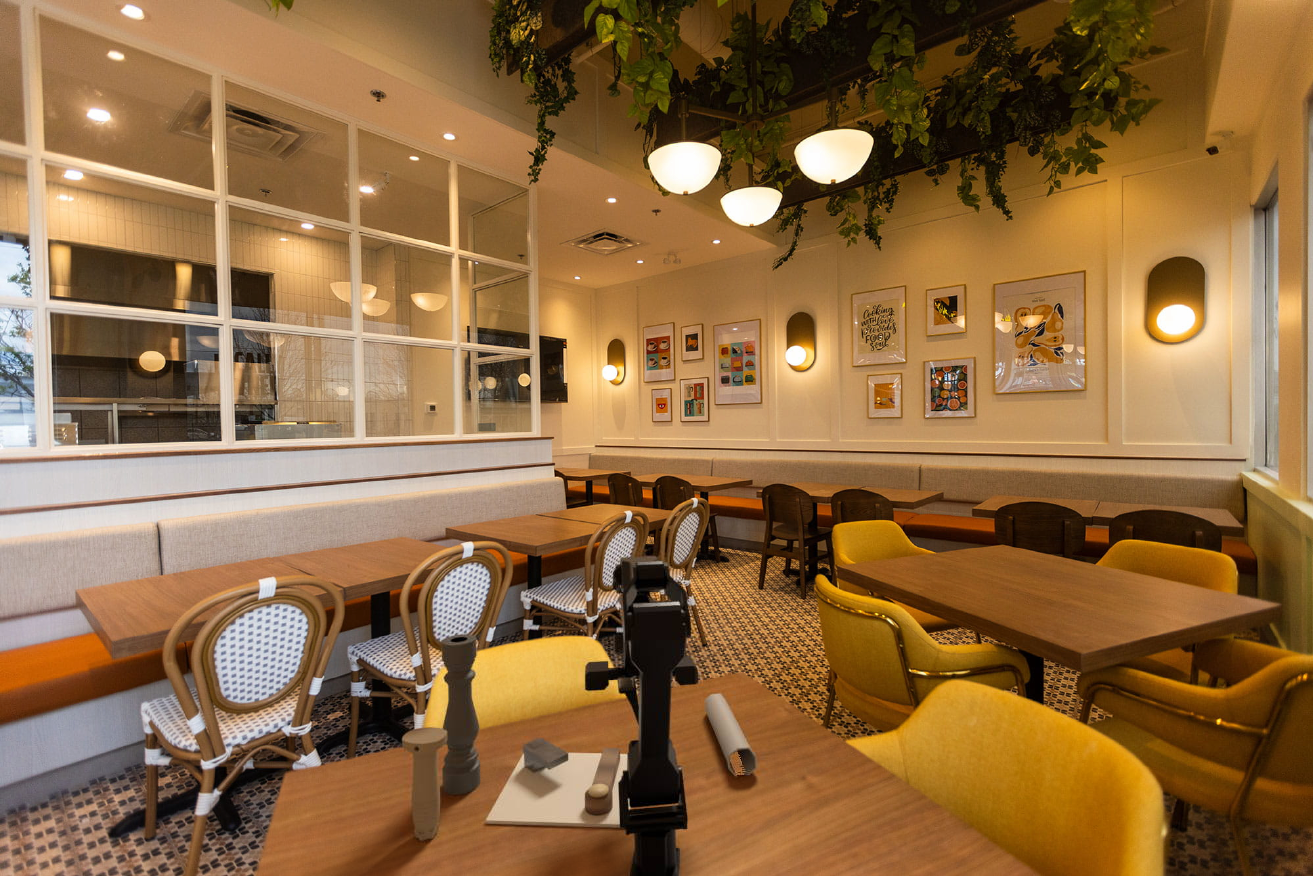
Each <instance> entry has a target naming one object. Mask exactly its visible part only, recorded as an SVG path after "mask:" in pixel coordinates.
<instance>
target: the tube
mask: <svg viewBox="0 0 1313 876" xmlns="http://www.w3.org/2000/svg"><path fill="white" fill-rule="evenodd" d="M704 710H705V712H706V715H707V717H708V719H709V722H710V725H711V727H712V729H713V732H714V733H715V736H716V739H717V741H718V743H719V746H720V748H721V750H722V753H723V756H724V759H725V760H726V763H727V769H728V770H729V771H730V772H731V774H732V775H733V776H734V777H736V776H735V775H736V774H735V771H734V769H733V767H732V764H731V762H730V756H731V755H732V754H734V753H735V752H736V751H737V750H738V751H737V752H738V754H739V755H740V756H739V757H741V758H740V759H741V761H742V765H743V766H740V767H744V768H742V769H745V770H742V771H746V772H742V773H744V775H748V776H750V775H752V773H753V772H755V771H756V770H757V769H758V765H757V764H758V763H757V760H758V759H757V755H756V753H755V752H754V751H753V750H752V748H751V746H750V744H749V742H748V740H747V739H746V736H745V735H744V732H743V731H742V728H741V726H740V724H739V723H738V721H737V719H736V717H735V715H734V713H733V711H732V709H731V708H730V706H729V704H728V702H727V699H726V698H725V697H724V696H723V694H722V693H711V694H710V695H709V696H707V698H705V699H704ZM738 773H741V772H738Z"/></svg>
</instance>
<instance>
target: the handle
mask: <svg viewBox="0 0 1313 876" xmlns="http://www.w3.org/2000/svg"><path fill="white" fill-rule="evenodd" d="M401 741H402V742H401V745H402V749H404V750H406V752H409V753H411V754H412V757H413V758H412V759H413V760H412V761H413V763H412V785H411V786H412V789H411V811H412V813H411V814H412V815H411V816H412V821H413V822H412V823H413V827H414V828H413V832H414V836H415V838H416V839H417V838H418V840H419V841H420V842H424V841H426V840H430V839H434V837H435V836H436V835H437V833H438V832H439V826H440V823H439V819H440V814H441V813H440V811H441V808H440V807H441V790H440V789H441V788H440V779H439V777H440V776H439V766H438V765H439V764H438V750H440V749H441V748H442V747H444V746H445V745H446V742H447V731H446V730H444V729H443V728H441V727H433V726H432V727H430V726H429V727H427V726H425V727H420V728H414V729H411V730H409V731H408V732H405V734H403V736H402V738H401Z"/></svg>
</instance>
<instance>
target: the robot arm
mask: <svg viewBox="0 0 1313 876" xmlns="http://www.w3.org/2000/svg"><path fill="white" fill-rule="evenodd" d="M612 590H615V594H619V603H620V608H621V621H622V622H621V623H622V634H619V635H613V649H614V650H613V651H614V655H622V664H623V667H609V660H601V661H599V660H598V661H588V662H587V664H586V665H585V669H584V690H585V691H587V692H594V691H595V692H596V691H597V692H598V691H605V690H606V689H607V688H608V687H609V686H610V681H617V691H618V693H619V694H621V695H625V697H626V698H627V701H628V702H629V704H630V706H631V709H632V712H633V715H634V717H635V720H636V723H637V725H638V739H634V740H630V742H629V744H628V746H627V748H628V752H627V753H626V754H627V770H623V776H621V780H620V781H619V782H618V792H619V821H620V827H621V828H620V829H623V830H624V831H625V836H630V835H634V837H633V838H634V842H633V843H634V847H633V848H634V849H633V854H632V862H631V867H630V873H629V876H679V875H680V862H681V861H680V858H681V857H680V856H681V849H680V847H677V841H676V840H677V835H676V834H677V832H676V831H677V830H678V831H679V830H683V831H684V830H688V820H689V818H688V810H687V801H686V793H685V784H684V783H685V782H684V775H683V769H682V766H681V765H679V764H678V759H677V754H676V749H675V748H674V743H673V741H672V739H671V737H670V735H671V734H670V733H671V731H670V730H671V710H672V709H671V707H672V704H671V703H672V684H673V683H672V681H673V680H672V678H673V677H674V681H675V683H677V684H678V685H679V686H691V685H692V686H693V685H694V686H695V685H697V684H698V683H699V672H698V671H699V670H698V666H697V664H696V662H695V659H694V658H692V657H691V656H689V655H688V656H686V651H687V639H691V635H692V623H691V622H692V621H691V619H692V618H691V613H690V608H689V603H688V597H687V592H686V590H685V589H684V588H683V586H681V585H680V584H679V583H678V582H677V581H676V580H675V579H674V577H672V575H670V569H669V565H668V562H667V561H663V560H659V558H658V557H657V556H656V555H647V556H626V557H625V556H624V557H622V556H621V557H620V558H619V563H618V564H615V567H614V569H613V571H612ZM660 591H663V593H664V595H665V596H666V597H667V599H668V601H667V600H666V601H656V600H655V599H654V598H652V596H651V593H653V592H660ZM636 679H637V680H638V681H639V683H638V684H639V685H638V692H637V685H636ZM628 799H629V803H628ZM629 806H630V807H631V809H629ZM632 808H633V809H632Z"/></svg>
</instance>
